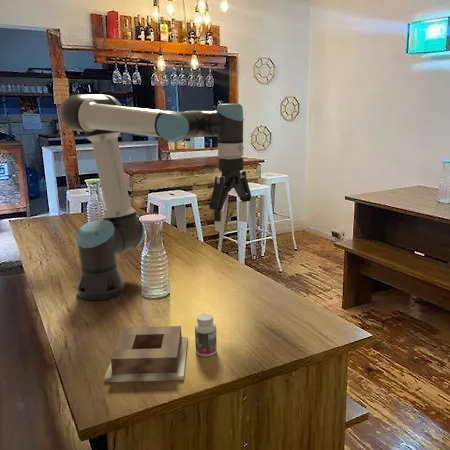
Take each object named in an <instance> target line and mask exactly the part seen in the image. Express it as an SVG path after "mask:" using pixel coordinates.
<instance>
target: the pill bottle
mask: <svg viewBox="0 0 450 450" xmlns="http://www.w3.org/2000/svg"><path fill="white" fill-rule="evenodd" d="M196 322H197V323H196V324H195V326H194V337H195V338H194V339H195V343H194V344H195V353H196V354H197V355H198V356H200V357H204V358H205V357H206V358H207V357H212V356H213V355H215V354H216V353H217V351H218V350H217V347H218V346H217V342H218V341H217V325H216V323H215V322H214V316H213V314H211V313H207V312H205V313H200V314H198V315H197V317H196Z"/></svg>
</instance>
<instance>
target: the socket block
mask: <svg viewBox="0 0 450 450" xmlns="http://www.w3.org/2000/svg"><path fill="white" fill-rule="evenodd" d="M182 335H183V334H182V325H173V326H172V325H171V326H170V325H166V326H164V325H163V326H160V325H159V326H131V327H130V326H128V327H127V326H126V327H122V330H121V332H120V335H119V338H118V340H117V343H116V345H115V346H114V350H113V352H112V355H111V357H110V362H109V365H108V368H107V369H106V373H105V375H104V377H103V381H104V383H126V382H127V383H128V382H133V383H134V382H161V381H167V382H168V381H184V380H185V369H186V361H187V353H186V352H187V350H188V341H189V337H188V336H182Z"/></svg>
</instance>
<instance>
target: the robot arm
mask: <svg viewBox="0 0 450 450" xmlns="http://www.w3.org/2000/svg"><path fill="white" fill-rule="evenodd" d="M243 108H244V107H243V105H242V104H240V103H219V104H217V107H216V110H186V111H173V110H163V109H161V110H160V109H152V108H142V107H134V106H133V107H131V106H122V104H121V103H120V101H119V100H118V99H116V98H115V97H114V96H111V95H108V94H103V93H99V94H96V93H95V94H88V93H87V94H85V93H84V94H81V93H80V94H79V93H78V94H73V95H70V96H68V97H67V98H66V99H64V101H63V103H62V104H61V107H60V117H61V120H62V122H63V123H64V125H65V126H66V127H67V128H69V129H70V130H71V131H74V132H75V131H76V132H81V133H82V132H84V133H85V138H86V139H87V140H88V141H90V142H91V145H92V150H93V155H94V160H95V164H96V168H97V174H98V179H99V183H100V189H101V193H102V197H103V203H104V208H105V212H104V213H103V215H102V220H101V219H100V220H95V221H90V222H87V223H85V224H82V225H81V226H79V229H78V230H77V242H76V243H77V247H78V254H79V256H78V257H79V264H80V275H79V280H78V285H77V295H78V297H79V299H80V298H81V299H82V300H87V301H104V300H108V299H113V298H115V297H118V296H120V295H121V294H122V293H123V292H124V290H125V283H124V280H123V277H122V275H121V273H120V272H119V271H120V270H119V269H118V264H117V256H119V255H122V254H123V253H125V252H128V251H129V250H133V249H135V248H137V246H140V245H141V244H142V243H143V241H144V240H145V238H146V235H145V234H144V228H143V225H142V223H141V222H140V221H139V218H141V216H139V215H138V214H137V210H136V209H134V208H133V207H132V206H131V201H130V196H129V192H128V186H127V181H126V176H125V171H124V166H123V165H124V164H123V160H122V155H121V151H120V145H119V141H118V138H119V136H120V135H121V133H124V134H125V133H126V134H133V135H139V136H140V135H141V136H148V137H156V138H157V137H158V138H162V139H164V140H165V141H173V142H175V141H176V142H178V141H181V140H186V139H191V138H199V137H215V138H217V156H218V157H219V158H218V160H217V162H218V167H217V168H218V171H220V172H221V175H216V176H214V186H213V189H212V194H211V198H210V201H209V202H210V203H209V207H208V209H209V210H211V211H213V218H214V232H219V233H224V232H225V219H224V213H225V212H224V210H223V206H224V205H225V202H226V200H227V197H228V194H229V192H231V191H232V190H233V189H234V191H235V192H236V194H237V196H238V198H239V201H238V222H245V223H247V222H248V202H251V198H252V193H251V189H250V185H249V183H248V179H247V171H246V170H244V158H243V156H244V149H245V148H244V120H245V118H244V109H243Z"/></svg>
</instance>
